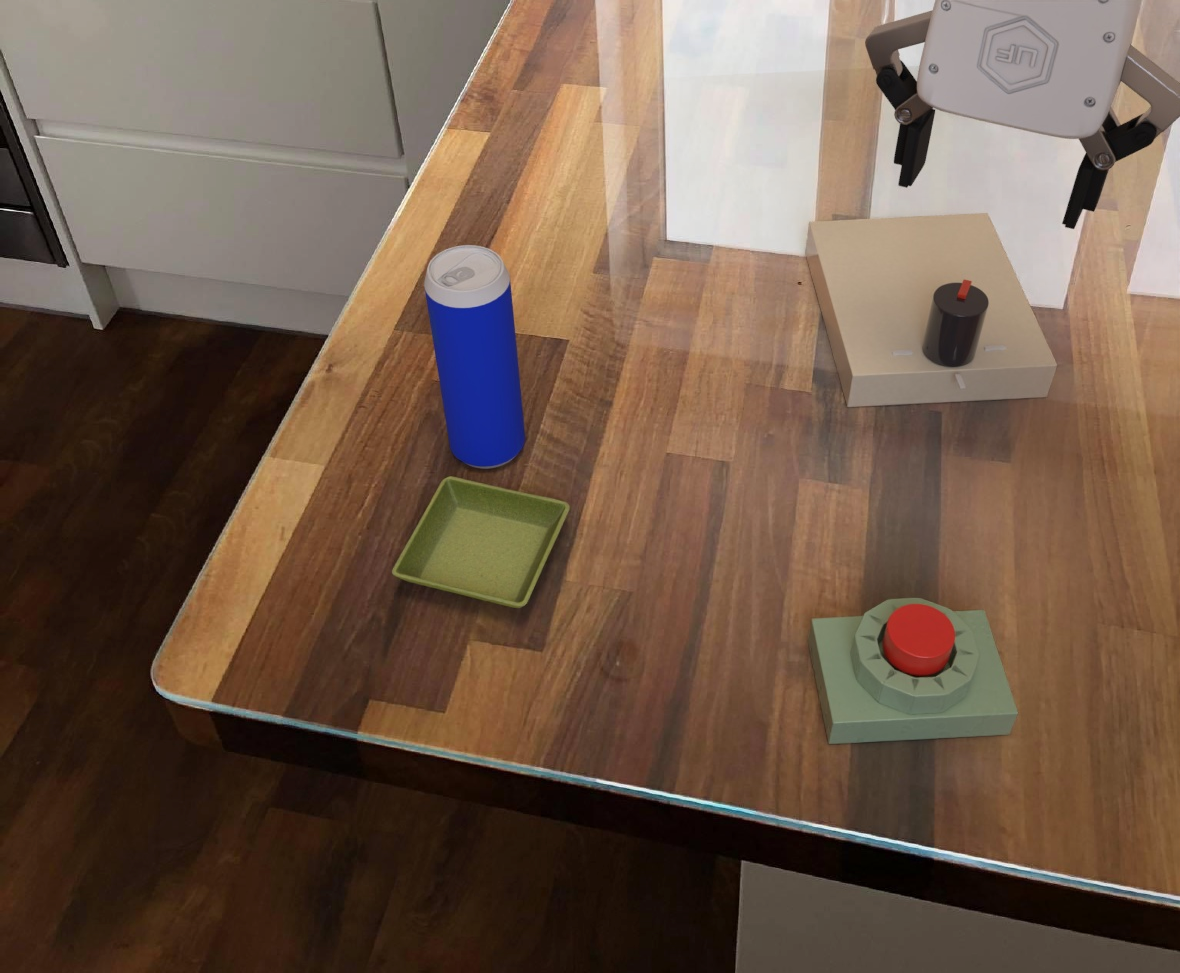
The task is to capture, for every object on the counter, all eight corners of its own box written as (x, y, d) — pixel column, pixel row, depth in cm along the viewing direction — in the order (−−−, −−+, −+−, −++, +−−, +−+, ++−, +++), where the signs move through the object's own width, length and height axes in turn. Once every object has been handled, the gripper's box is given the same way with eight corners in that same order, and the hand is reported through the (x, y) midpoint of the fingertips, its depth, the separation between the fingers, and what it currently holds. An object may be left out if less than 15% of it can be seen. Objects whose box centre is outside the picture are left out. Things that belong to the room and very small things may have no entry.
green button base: (976, 631, 72) (991, 589, 69) (1009, 734, 67) (1026, 694, 64) (807, 640, 72) (814, 598, 69) (828, 744, 67) (836, 704, 64)
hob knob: (968, 373, 83) (983, 317, 79) (916, 359, 84) (928, 304, 80) (980, 341, 85) (995, 286, 81) (929, 328, 86) (941, 273, 83)
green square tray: (448, 495, 81) (445, 473, 79) (573, 523, 79) (572, 501, 77) (393, 595, 75) (389, 574, 73) (527, 628, 73) (524, 607, 71)
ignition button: (940, 620, 68) (946, 601, 67) (956, 674, 66) (963, 655, 64) (876, 624, 68) (880, 604, 67) (889, 678, 66) (894, 659, 64)
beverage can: (491, 409, 86) (470, 231, 75) (541, 445, 83) (526, 266, 73) (434, 446, 84) (404, 268, 73) (484, 484, 81) (460, 306, 70)
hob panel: (979, 244, 98) (988, 210, 95) (1055, 416, 84) (1067, 382, 82) (805, 252, 97) (809, 219, 95) (852, 426, 84) (858, 392, 82)
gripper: (868, -105, 60) (829, 192, 73) (1240, -43, 55) (1128, 269, 67) (915, -157, 65) (871, 132, 77) (1264, -105, 59) (1155, 198, 72)
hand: (990, 195), depth 72 cm, fingers open, 9 cm apart
